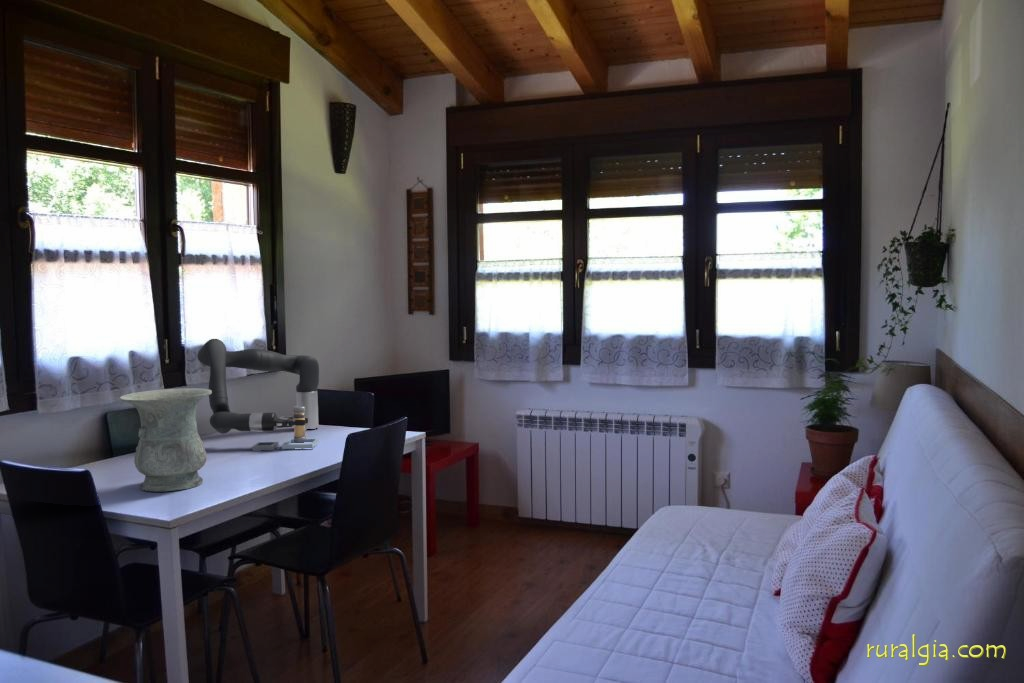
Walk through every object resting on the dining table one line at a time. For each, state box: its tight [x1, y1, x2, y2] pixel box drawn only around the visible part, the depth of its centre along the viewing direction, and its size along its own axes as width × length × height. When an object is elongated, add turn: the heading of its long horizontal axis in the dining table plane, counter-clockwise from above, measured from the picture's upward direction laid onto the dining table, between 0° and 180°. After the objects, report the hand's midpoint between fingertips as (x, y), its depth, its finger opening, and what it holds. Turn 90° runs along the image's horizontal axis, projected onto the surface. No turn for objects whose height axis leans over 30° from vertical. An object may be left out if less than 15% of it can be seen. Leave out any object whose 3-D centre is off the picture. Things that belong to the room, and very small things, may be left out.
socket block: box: [251, 441, 280, 452], centre depth 300 cm, size 8×8×2 cm
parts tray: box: [281, 437, 320, 450], centre depth 303 cm, size 12×12×2 cm
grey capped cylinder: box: [292, 405, 307, 443], centre depth 303 cm, size 5×5×14 cm
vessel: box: [119, 387, 212, 493], centre depth 244 cm, size 27×27×30 cm
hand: (306, 421), depth 303 cm, fingers closed on grey capped cylinder, 4 cm apart
